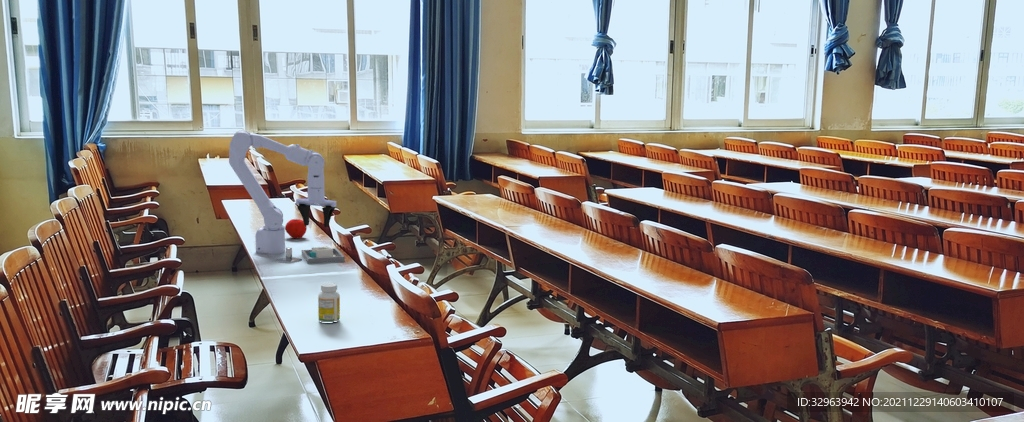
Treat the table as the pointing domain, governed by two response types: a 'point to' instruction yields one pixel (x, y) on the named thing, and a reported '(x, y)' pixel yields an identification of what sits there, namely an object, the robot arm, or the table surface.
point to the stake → (289, 257)
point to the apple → (296, 228)
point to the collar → (321, 252)
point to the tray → (323, 259)
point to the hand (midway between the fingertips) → (316, 226)
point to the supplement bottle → (329, 303)
